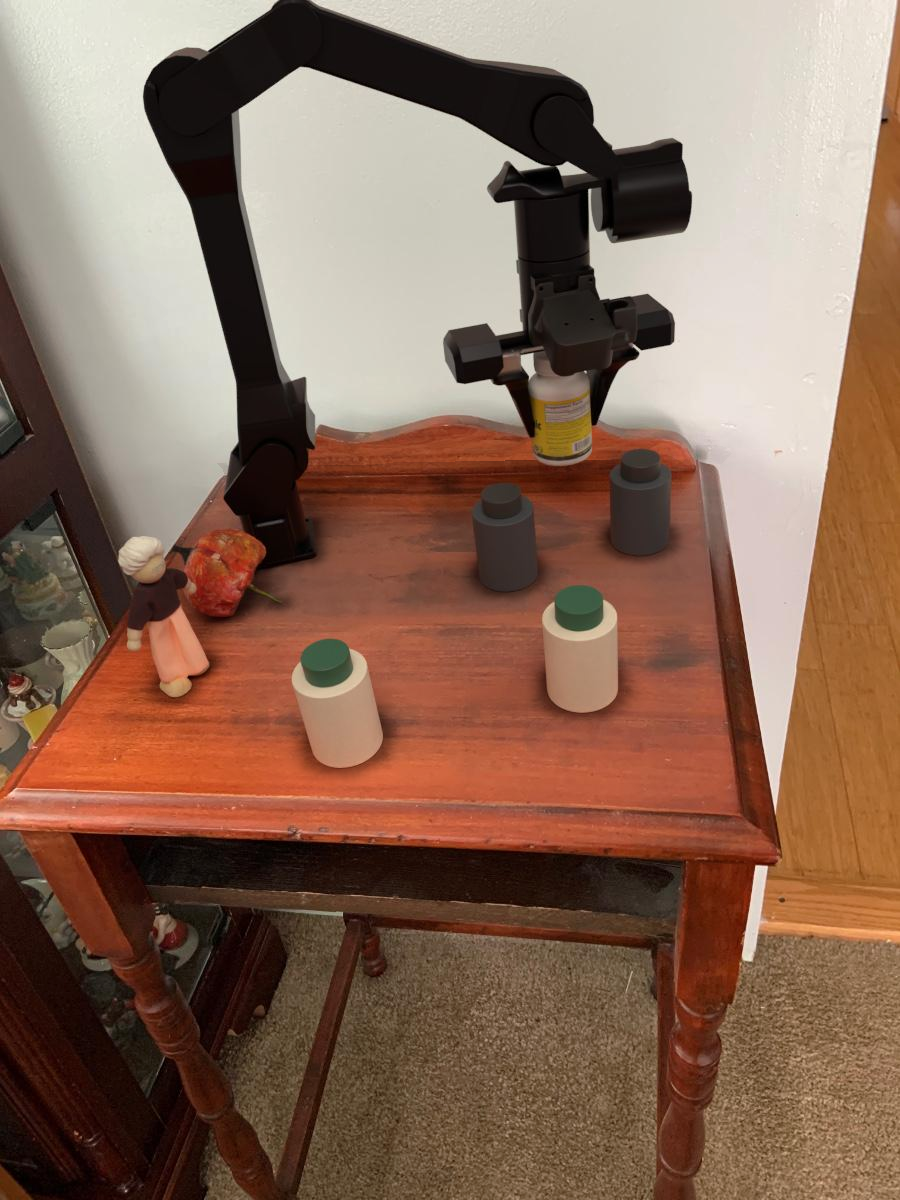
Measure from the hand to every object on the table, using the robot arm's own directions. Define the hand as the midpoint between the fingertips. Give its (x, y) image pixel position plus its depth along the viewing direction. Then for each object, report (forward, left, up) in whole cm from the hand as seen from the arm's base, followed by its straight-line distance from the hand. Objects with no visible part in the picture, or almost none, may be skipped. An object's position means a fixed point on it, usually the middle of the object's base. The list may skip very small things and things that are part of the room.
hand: (561, 430), depth 81 cm
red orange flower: (+6, -31, -7) cm, 32 cm away
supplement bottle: (0, 0, -3) cm, 3 cm away
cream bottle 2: (+25, -6, -7) cm, 27 cm away
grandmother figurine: (+14, -35, -7) cm, 38 cm away
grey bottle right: (+9, +4, -7) cm, 12 cm away
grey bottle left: (+10, -8, -7) cm, 15 cm away
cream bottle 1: (+25, -23, -7) cm, 35 cm away
